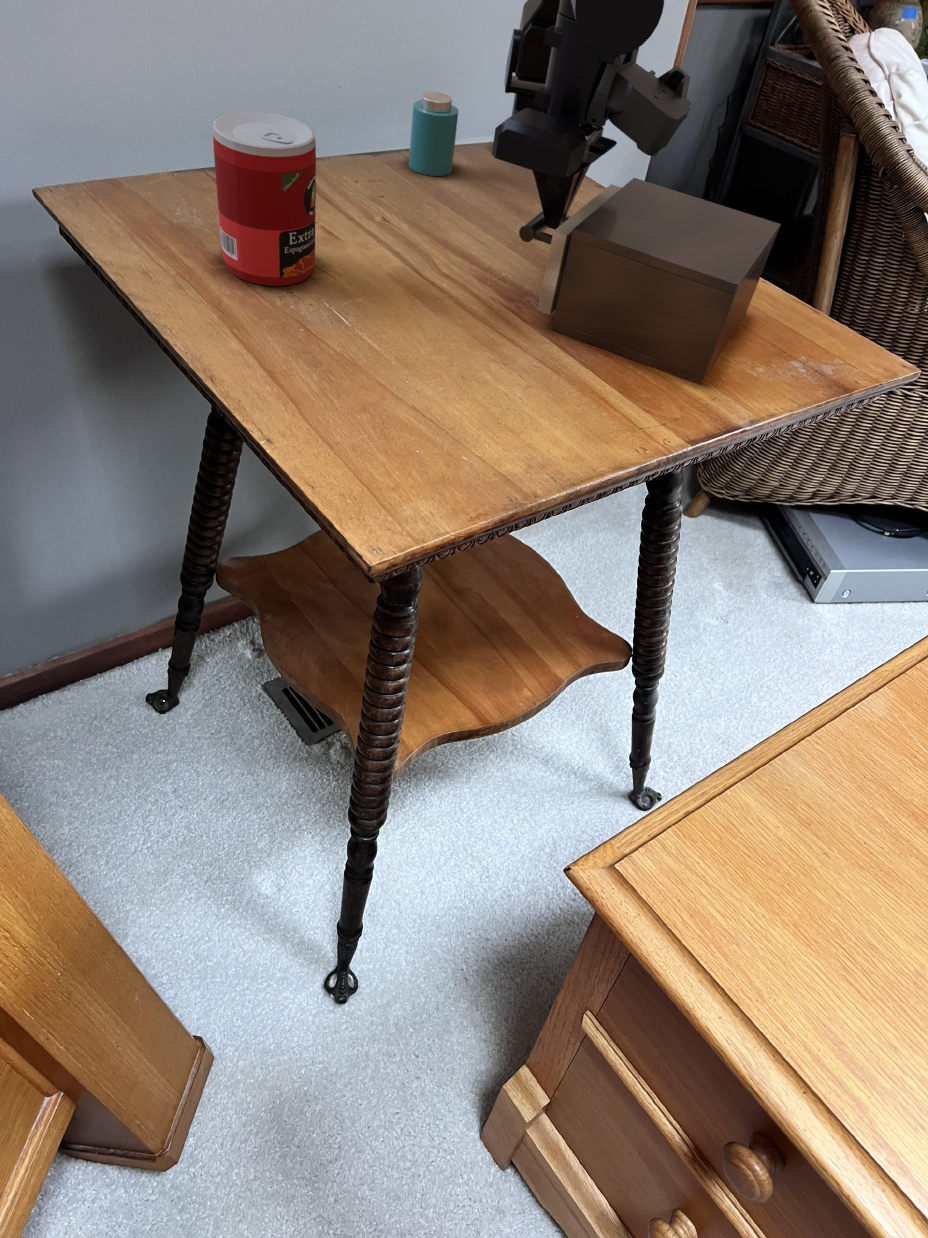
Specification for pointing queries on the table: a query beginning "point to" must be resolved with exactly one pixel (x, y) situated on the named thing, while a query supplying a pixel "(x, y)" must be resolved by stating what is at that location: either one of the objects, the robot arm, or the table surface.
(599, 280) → the cabinet
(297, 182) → the canned food
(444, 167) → the teal bottle
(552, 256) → the drawer
